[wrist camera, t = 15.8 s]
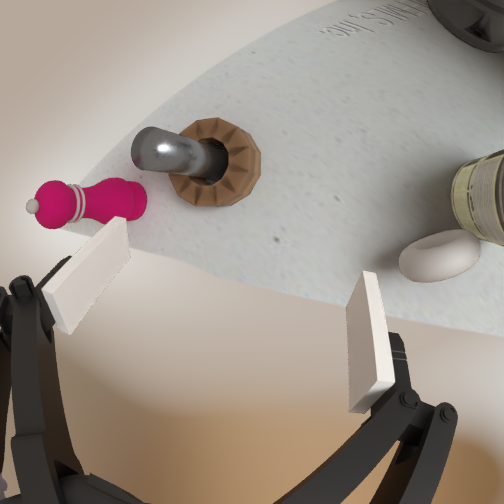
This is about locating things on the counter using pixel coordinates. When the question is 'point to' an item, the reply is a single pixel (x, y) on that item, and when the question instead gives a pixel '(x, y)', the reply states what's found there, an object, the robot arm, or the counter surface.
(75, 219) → the pepper mill
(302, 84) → the counter surface
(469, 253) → the donut
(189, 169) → the metal cylinder peg
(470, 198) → the coffee can
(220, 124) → the bead
